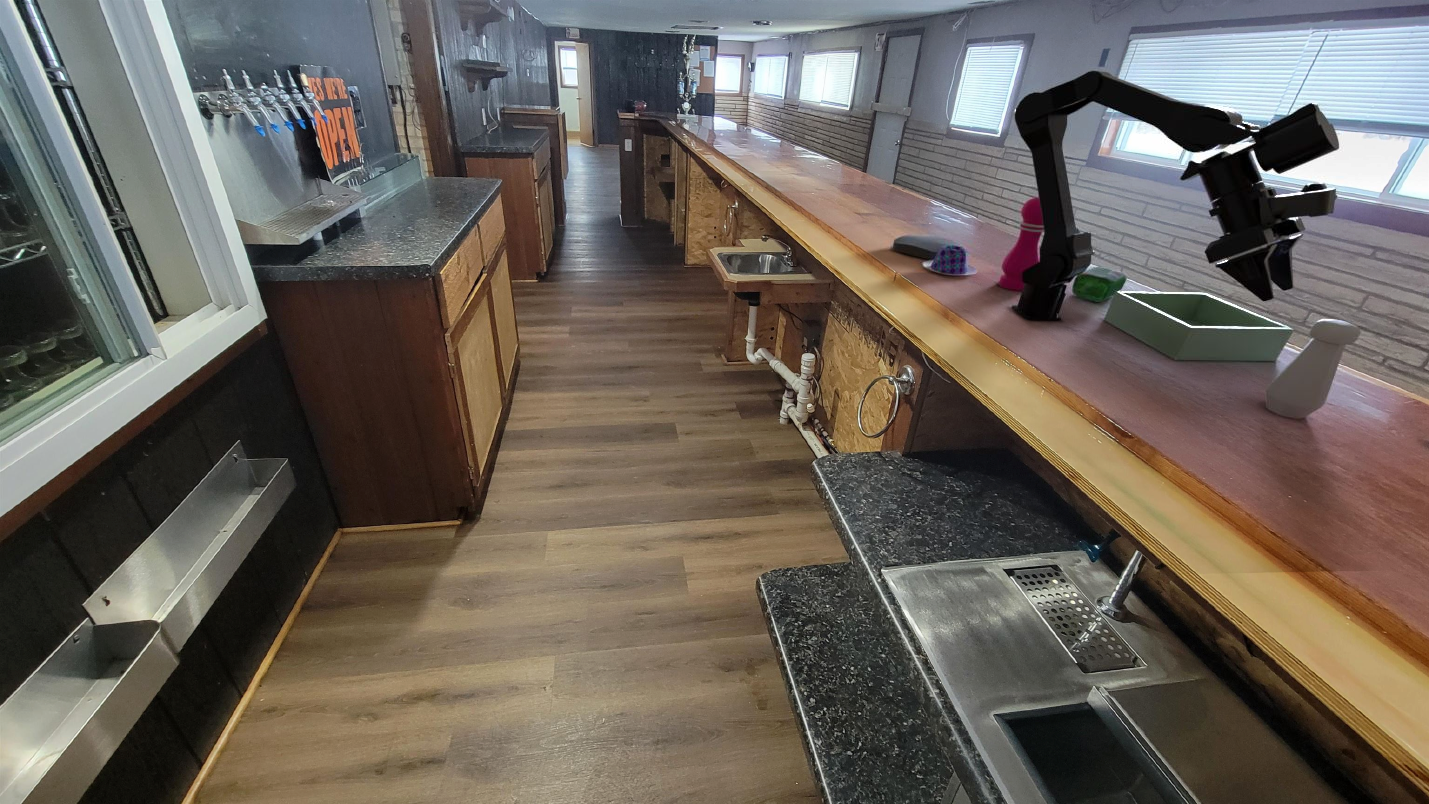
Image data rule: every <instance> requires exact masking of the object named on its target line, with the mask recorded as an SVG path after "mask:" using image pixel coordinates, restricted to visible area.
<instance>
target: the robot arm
mask: <svg viewBox="0 0 1429 804" xmlns="http://www.w3.org/2000/svg"><path fill="white" fill-rule="evenodd" d="M1093 102H1094V103H1095V104H1098V105H1101V106H1103V107H1107V108H1108V109H1111V110H1113V111H1116V112H1118V113H1121V114H1124V115H1125V116H1129V117H1131V118H1133V119H1135V120H1138V121H1141V122H1143V123H1145V124H1148V125H1149V126H1150V125H1151V126H1153V127H1155V128H1156V129H1157V130H1159V131H1160V132H1161V133H1162V134H1163V135H1164V136H1165V137H1166V138H1167V139H1169V140H1170V141H1171V142H1173V143H1175V144H1176V145H1177V146H1179V147H1181V148H1182V149H1183V150H1185V151H1187V152H1189V153H1194V154H1199V153H1212V152H1218V151H1219V152H1218V153H1216V154H1214V155H1211V156H1210V157H1207V158H1205V159H1203V160H1202V161H1201V160H1198V159H1191V160H1189V161H1188V162H1187V166H1186V168H1185V169H1184V171H1183V172H1182V174H1181V175H1180V177H1179V180H1180V181H1190V180H1194V179H1196V178H1198V177H1199V178H1200V180H1201V183H1202V186H1203V187H1204V190H1205V192H1206V195H1207V197H1208V200H1209V202H1210V205H1211V207H1212V209H1208V214H1209V216H1210V218H1214V217H1216V219H1217V222H1218V224H1219V226H1220V229H1221V232H1222V234H1223V235H1221V236H1219V238H1218V239H1216V240H1213V241H1210V242H1209V244H1208V246H1207V247H1205V250H1204V254H1205V256H1206V259H1207V261H1208V263H1209V265H1210V264H1213V263H1216V262H1219V261H1222V260H1225V259H1226V260H1225V261H1222V262H1219V263H1217V264H1215V265H1214V267H1215V268H1216V269H1219V270H1221V271H1222V272H1224V273H1225V274H1227V275H1228V276H1229V277H1230V278H1232V279H1233V280H1234V281H1236V282H1237V283H1238V284H1240V285H1241V286H1242V287H1244V288H1245V289H1246V290H1247V291H1249V292H1250V293H1252V294H1253V295H1254V296H1255V297H1256V298H1258V299H1259V300H1261V302H1268V301H1272V300H1274V298H1275V296H1274V288H1273V283H1274V285H1276V286H1277V287H1278V288H1279V289H1280V290H1281V291H1283V292H1286V291H1289V290H1292V289H1293V288H1294V271H1293V269H1294V268H1293V249H1294V247H1295V246H1296V245H1297V244H1298V242H1299V241H1300V240H1301V239H1302V238H1303V236H1304V233H1301V234H1298V233H1300V232H1304V231H1306V227H1305V225H1304V223H1303V219H1302V218H1301V217H1309V218H1315V217H1323V216H1328V215H1329V214H1334V212H1335V202H1336V200H1337V199H1338V195H1337V193H1336V192H1337V188H1336V187H1331V188H1328V187H1327V184H1325V182H1324V181H1323V182H1322V181H1321V182H1315V183H1308V184H1307V183H1306V184H1305V185H1304V186H1303V187H1302V189H1301V190H1300V191H1299V192H1295V193H1288V194H1280V195H1278V193H1277V190H1276V189H1275V188H1274V187H1273V188H1272V187H1270V186H1269V187H1266V184H1265V182H1264V180H1263V177H1262V175H1261V173H1260V170H1259V167H1260V168H1261V170H1262V171H1263V172H1265V173H1267V172H1270V171H1271V170H1273V171H1274V172H1275V173H1276V174H1278V175H1281V174H1283V173H1286V172H1288V171H1291V170H1293V169H1295V168H1298V167H1300V166H1302V165H1305V164H1307V163H1309V162H1312V161H1314V160H1317V159H1319V158H1321V157H1323V156H1326V155H1328V154H1331V153H1333V152H1335V151H1338V150H1339V149H1340V142H1339V141H1340V140H1339V137H1338V134H1337V130H1336V129H1335V126H1334V124H1333V123H1330V122H1329V120H1328V118H1327V116H1326V115H1325V114H1324V113H1323V112H1322V111H1321V109H1320V106H1319V104H1318V103H1317V102H1310V103H1308V104H1306V105H1304V106H1302V107H1300V108H1298V109H1296V110H1295V111H1294V112H1292V113H1290V114H1289V115H1287V116H1284V117H1282V118H1281V119H1278V120H1276V121H1274V122H1271V123H1270V124H1268V125H1266V126H1264V127H1262V126H1261V125H1260V124H1259V125H1258V124H1257V125H1256V124H1255V125H1254V124H1252V123H1249V122H1246V121H1245V122H1244V120H1243V115H1242V114H1241V113H1240V111H1237V110H1236V109H1234V108H1229V107H1223V106H1216V105H1210V104H1203V103H1197V102H1196V103H1195V102H1189V101H1182V100H1179V99H1176V98H1173V97H1170V96H1168V95H1165V94H1162V93H1160V92H1156V91H1154V90H1152V89H1148V88H1146V87H1143V86H1141V85H1138V84H1135V83H1132V82H1129V81H1127V80H1124V79H1122V78H1118V77H1116V76H1113V75H1112V74H1111V73H1110V72H1108V71H1101V70H1100V71H1099V70H1089V71H1087V72H1085V73H1084V74H1081V75H1079V76H1077V77H1076V78H1073V79H1071V80H1069V81H1066V82H1064V83H1061V84H1058V85H1056V86H1053V87H1050V88H1048V89H1046V90H1044V91H1041V92H1040V91H1036V92H1035V91H1034V92H1031V93H1028V94H1027V95H1025V96H1024V97H1023V98H1022V99H1021V100H1020V101H1019V102H1018V105H1017V106H1016V107H1015V109H1014V115H1013V116H1014V118H1013V119H1014V122H1015V125H1016V128H1017V130H1018V133H1019V136H1020V137H1021V139H1022V141H1023V142H1024V143H1025V145H1026V146H1027V147H1028V149H1029V150H1030V153H1031V158H1032V159H1031V160H1032V164H1033V165H1032V166H1033V170H1034V176H1035V182H1036V188H1037V189H1036V190H1037V196H1038V195H1039V201H1040V207H1041V213H1042V219H1043V225H1044V232H1043V237H1042V240H1041V243H1040V246H1039V257H1040V258H1039V262H1038V263H1036V264H1035V265H1033V266H1031V267H1029V268H1027V269H1026V270H1024V271H1023V272H1022V282H1023V283H1025V284H1024V287H1023V290H1022V291H1021V294H1020V295H1019V296H1020V297H1019V300H1018V302H1017V305H1016V304H1012V305H1011V309H1012V310H1014V311H1015V312H1017V313H1018V314H1020V315H1021V316H1023V318H1025V319H1027V320H1031V321H1035V320H1036V321H1038V320H1039V321H1042V320H1043V321H1062V316H1061V315H1059V314H1060V313H1061V309H1062V307H1063V304H1064V301H1065V298H1066V295H1067V293H1066V291H1067V287H1068V285H1067V284H1069V283H1071V282H1072V281H1074V279H1075V278H1076V276H1077V275H1080V274H1082V273H1083V272H1084V271H1086V270H1088V269H1089V267H1090V266H1091V264H1092V256H1093V255H1095V254H1096V252H1095V251H1094V249H1093V245H1092V233H1091V231H1090V230H1089V231H1084V232H1081V230H1080V229H1079V228H1078V226H1077V225H1076V222H1075V215H1074V210H1073V203H1072V197H1071V191H1070V183H1069V178H1068V172H1067V164H1066V159H1065V153H1064V147H1063V141H1064V139H1065V135H1066V130H1067V126H1068V116H1070V115H1072V114H1074V113H1077V112H1079V111H1080V110H1082V109H1083V108H1085V107H1087V106H1088V105H1090V104H1092V103H1093ZM1231 145H1232V146H1233V145H1248V146H1246V147H1244V148H1242V149H1239V150H1237V151H1235V152H1233V153H1230V152H1229V151H1228V150H1223V149H1226V148H1227V147H1229V146H1231ZM1221 150H1222V151H1221ZM1252 152H1254V155H1253V154H1252ZM1254 156H1255V157H1254ZM1255 159H1256V161H1257V163H1256V161H1255ZM1257 164H1258V165H1257ZM1258 166H1259V167H1258ZM1295 234H1298V235H1295ZM1292 235H1295V236H1292ZM1290 236H1291V237H1290Z"/></svg>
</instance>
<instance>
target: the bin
mask: <svg viewBox="0 0 1429 804" xmlns="http://www.w3.org/2000/svg"><path fill="white" fill-rule="evenodd" d="M1103 321H1105V322H1107V323H1108V324H1110V325H1112V326H1114V327H1115V328H1118V329H1119V330H1121V331H1123V332H1124V333H1127V334H1129V335H1130V336H1132V337H1134V338H1135V339H1137V340H1138V341H1141V342H1143V343H1145V345H1148V346H1150V347H1151V348H1153V349H1155V350H1157V351H1158V352H1160V353H1162V354H1164V355H1165V356H1167V357H1170V358H1171V359H1173V360H1175V361H1228V362H1229V361H1231V362H1232V361H1234V362H1235V361H1236V362H1237V361H1239V362H1240V361H1241V362H1242V361H1245V362H1277V360H1278V358H1279V357H1280V355H1281V353H1282V352H1283V350H1284V347H1285V346H1286V345H1287V343H1288V341H1289V340H1290V338H1291V336H1292V335H1293V334H1294V331H1295V328H1292V327H1289V326H1287V325H1285V324H1282V323H1280V322H1278V321H1275V320H1274V319H1273V320H1272V319H1270V318H1267V317H1265V316H1263V315H1260V314H1259V313H1256V312H1253V311H1250V310H1248V309H1245V308H1243V307H1240V306H1237V305H1236V304H1233V303H1231V302H1228V301H1226V300H1223V299H1221V298H1218V297H1216V296H1213V295H1211V294H1209V293H1207V292H1178V291H1177V292H1175V291H1172V292H1171V291H1127V290H1126V291H1125V290H1123V291H1121V290H1120V291H1115V294H1114V295H1113V296H1112V298H1111V301H1110V304H1109V306H1108V309H1107V311H1106V314H1105V316H1104V317H1103Z"/></svg>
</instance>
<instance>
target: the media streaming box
mask: <svg viewBox="0 0 1429 804" xmlns="http://www.w3.org/2000/svg"><path fill="white" fill-rule="evenodd" d="M945 245H950V246H958V247H963V248H964V245H963V244H961V243H960V242H957V241H954V240H952V239H949V238H945V237H940V236H933V235H917V234H916V235H915V234H906V235H902V236H899V237H897V238H895V239H894V240H893V243H892V250H893V251H895V252H898V253H902V254H906V255H909V256H912V257H913V256H914V257H918V258H922V259H927V260H934V259H935V257H936V255H937V253H938V251H939V249H940V248H941V247H942V246H945Z"/></svg>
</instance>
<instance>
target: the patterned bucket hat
mask: <svg viewBox="0 0 1429 804" xmlns="http://www.w3.org/2000/svg"><path fill="white" fill-rule="evenodd" d="M922 266H923V267H924V268H925V269H927V270H930V271H932V272H935V273H937V274H941V275H945V276H953V277H955V276H956V277H959V276H960V277H961V276H972V275H975V274H977V272H978V270H977V269H976V268H975V267H974V266H972V265H969V264H968V250H967V248H965V247H964V246H963V247H958V246H950V245H945V246H942V247H941V248H940V249H939V251H938V253H937V255H936V257H935V259H934V260H931V259H929V260H926V261H923V262H922Z"/></svg>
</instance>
